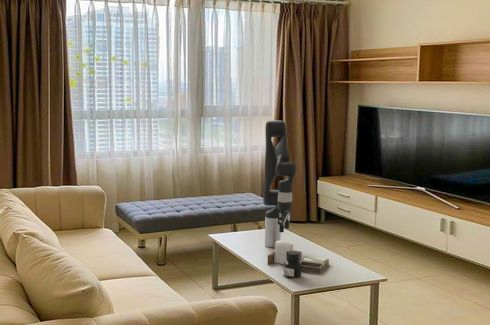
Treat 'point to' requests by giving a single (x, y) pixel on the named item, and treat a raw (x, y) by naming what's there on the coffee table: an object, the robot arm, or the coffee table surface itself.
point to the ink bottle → (292, 265)
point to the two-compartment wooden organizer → (314, 264)
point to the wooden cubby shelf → (272, 254)
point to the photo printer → (282, 251)
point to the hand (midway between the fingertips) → (284, 230)
